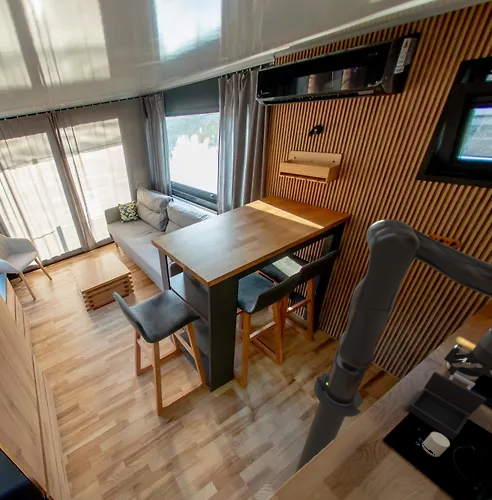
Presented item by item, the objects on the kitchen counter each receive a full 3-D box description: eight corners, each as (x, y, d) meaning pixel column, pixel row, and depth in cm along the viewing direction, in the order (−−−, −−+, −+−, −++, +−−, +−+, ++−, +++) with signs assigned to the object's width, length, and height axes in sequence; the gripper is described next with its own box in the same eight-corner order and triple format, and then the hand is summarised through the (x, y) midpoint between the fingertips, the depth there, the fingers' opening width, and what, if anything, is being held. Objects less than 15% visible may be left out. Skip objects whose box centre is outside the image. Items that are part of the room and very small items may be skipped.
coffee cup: (459, 401, 91) (480, 376, 83) (428, 382, 98) (445, 357, 90) (471, 389, 93) (493, 364, 86) (440, 371, 100) (457, 347, 93)
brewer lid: (485, 400, 78) (493, 389, 79) (433, 372, 87) (441, 362, 88) (470, 415, 84) (478, 404, 85) (423, 387, 93) (431, 378, 94)
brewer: (452, 440, 82) (457, 434, 80) (406, 409, 91) (410, 404, 90) (465, 420, 86) (470, 415, 84) (419, 393, 95) (423, 387, 93)
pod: (419, 447, 82) (428, 437, 79) (425, 439, 84) (433, 429, 80) (437, 459, 79) (446, 449, 76) (442, 451, 80) (452, 441, 77)
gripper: (456, 337, 70) (433, 372, 78) (545, 376, 59) (508, 413, 67) (468, 325, 73) (444, 360, 81) (555, 360, 61) (518, 397, 69)
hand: (473, 384), depth 74 cm, fingers open, 8 cm apart
